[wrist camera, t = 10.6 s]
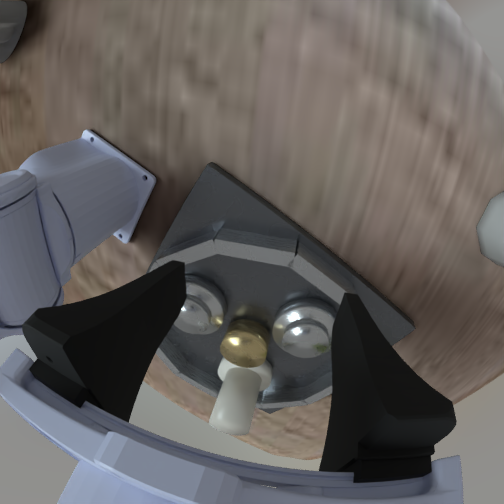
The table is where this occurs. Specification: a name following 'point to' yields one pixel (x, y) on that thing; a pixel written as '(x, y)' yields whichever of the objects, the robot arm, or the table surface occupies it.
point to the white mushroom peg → (238, 396)
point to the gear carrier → (258, 295)
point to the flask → (493, 230)
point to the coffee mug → (11, 25)
